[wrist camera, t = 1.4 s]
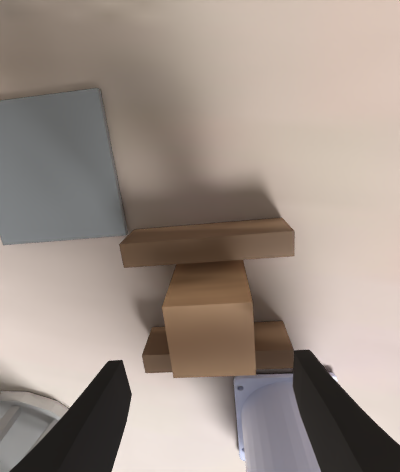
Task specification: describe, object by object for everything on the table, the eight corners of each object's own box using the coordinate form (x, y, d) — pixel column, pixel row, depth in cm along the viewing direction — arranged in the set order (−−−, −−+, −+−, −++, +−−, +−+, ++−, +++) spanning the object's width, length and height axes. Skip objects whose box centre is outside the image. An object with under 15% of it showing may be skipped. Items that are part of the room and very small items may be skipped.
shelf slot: (282, 337, 20) (293, 368, 18) (155, 342, 21) (145, 373, 19) (281, 217, 18) (294, 230, 15) (134, 229, 18) (119, 244, 16)
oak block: (244, 310, 20) (256, 375, 14) (185, 314, 20) (173, 377, 15) (241, 255, 19) (252, 302, 13) (178, 259, 19) (161, 307, 13)
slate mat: (127, 233, 19) (126, 235, 18) (7, 243, 19) (3, 245, 19) (100, 89, 16) (97, 87, 15) (-39, 107, 17) (-45, 106, 16)
